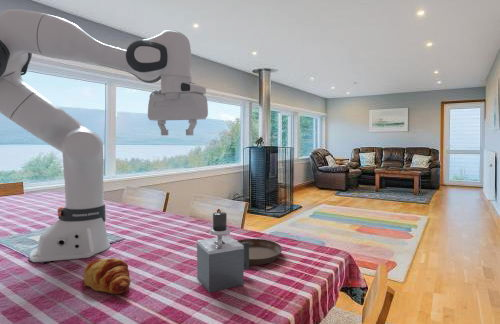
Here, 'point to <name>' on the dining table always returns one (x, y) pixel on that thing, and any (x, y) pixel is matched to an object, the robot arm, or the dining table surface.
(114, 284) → the croissant
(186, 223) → the dining table surface
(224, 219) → the plunger
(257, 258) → the plant saucer
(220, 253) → the matte gray cube
